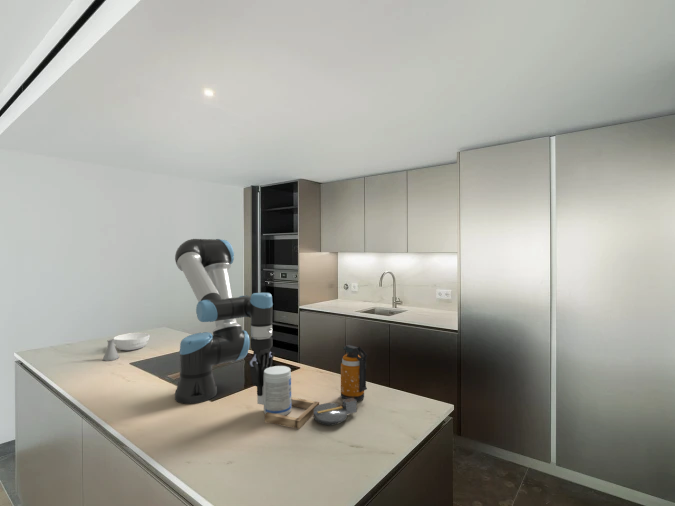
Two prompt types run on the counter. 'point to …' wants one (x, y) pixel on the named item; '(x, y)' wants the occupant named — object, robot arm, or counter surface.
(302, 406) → the brown piece
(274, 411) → the supplement tub
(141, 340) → the bowl
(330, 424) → the turntable base
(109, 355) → the flask
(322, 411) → the turntable
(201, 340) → the robot arm
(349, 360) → the canister
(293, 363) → the counter surface
